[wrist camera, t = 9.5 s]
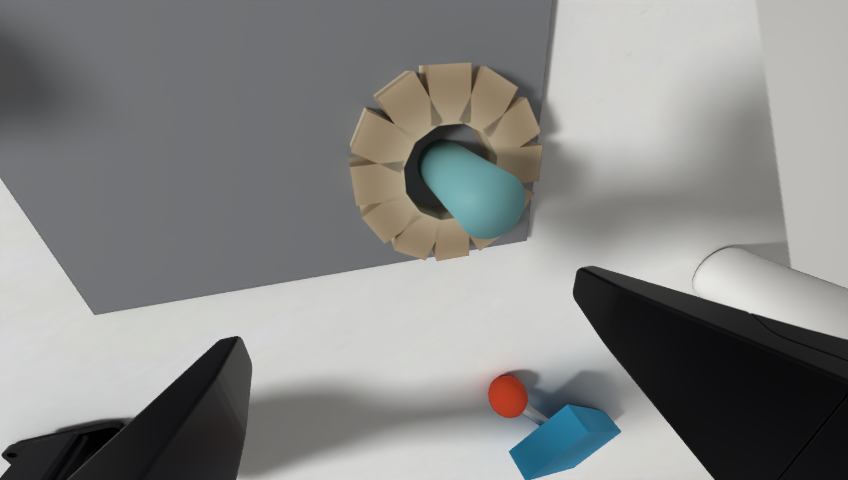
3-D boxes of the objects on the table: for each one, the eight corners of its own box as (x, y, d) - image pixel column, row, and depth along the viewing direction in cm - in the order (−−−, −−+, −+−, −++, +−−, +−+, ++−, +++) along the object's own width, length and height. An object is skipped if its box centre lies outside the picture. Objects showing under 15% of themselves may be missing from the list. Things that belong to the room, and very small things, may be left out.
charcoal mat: (522, 236, 23) (526, 240, 23) (101, 308, 18) (94, 314, 18) (557, -117, 15) (565, -124, 14) (-206, -154, 10) (-236, -166, 9)
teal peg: (464, 184, 20) (522, 233, 14) (419, 191, 19) (458, 244, 13) (464, 136, 18) (528, 166, 12) (415, 142, 18) (457, 176, 12)
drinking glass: (693, 311, 32) (932, 471, 19) (671, 276, 29) (941, 441, 16) (753, 264, 31) (1049, 401, 18) (736, 222, 28) (1083, 353, 15)
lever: (574, 376, 41) (516, 352, 28) (621, 431, 36) (576, 432, 24) (533, 409, 42) (461, 401, 30) (573, 467, 37) (506, 486, 25)
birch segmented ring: (515, 230, 22) (531, 244, 20) (364, 255, 20) (367, 273, 18) (530, 58, 17) (552, 57, 16) (334, 70, 15) (334, 71, 14)
